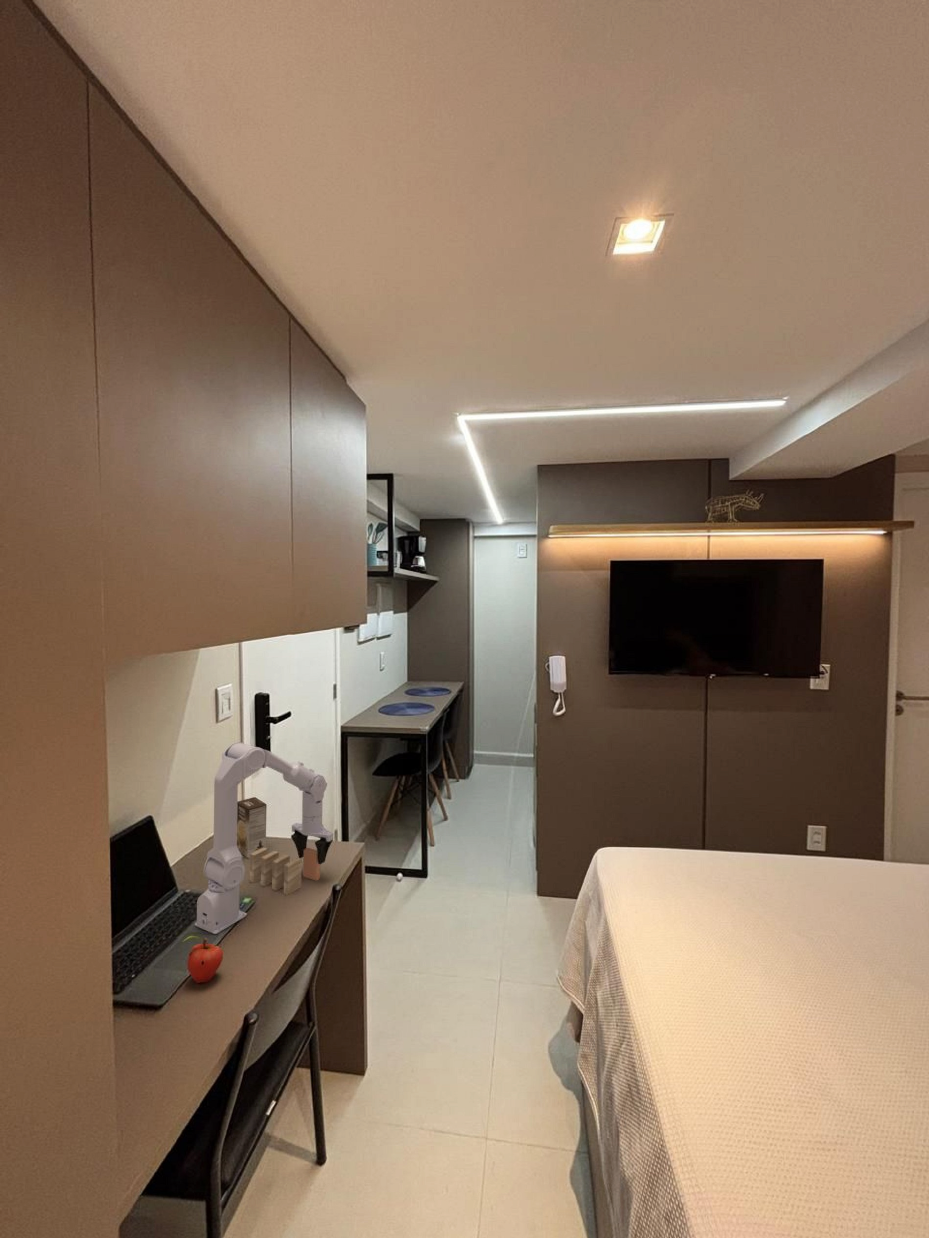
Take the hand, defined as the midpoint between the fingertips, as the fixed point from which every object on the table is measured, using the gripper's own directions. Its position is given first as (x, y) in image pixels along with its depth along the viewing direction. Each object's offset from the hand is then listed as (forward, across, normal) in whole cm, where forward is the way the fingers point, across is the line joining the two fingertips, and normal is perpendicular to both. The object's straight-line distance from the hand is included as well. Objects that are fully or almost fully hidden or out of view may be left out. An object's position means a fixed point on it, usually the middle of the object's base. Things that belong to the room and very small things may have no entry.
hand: (311, 859), depth 159 cm
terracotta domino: (+5, 0, 0) cm, 5 cm away
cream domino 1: (+5, +13, +8) cm, 16 cm away
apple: (+5, -11, +44) cm, 46 cm away
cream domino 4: (+5, 0, +8) cm, 10 cm away
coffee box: (+5, +29, -3) cm, 30 cm away
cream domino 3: (+5, +4, +8) cm, 10 cm away
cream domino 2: (+5, +8, +8) cm, 13 cm away
